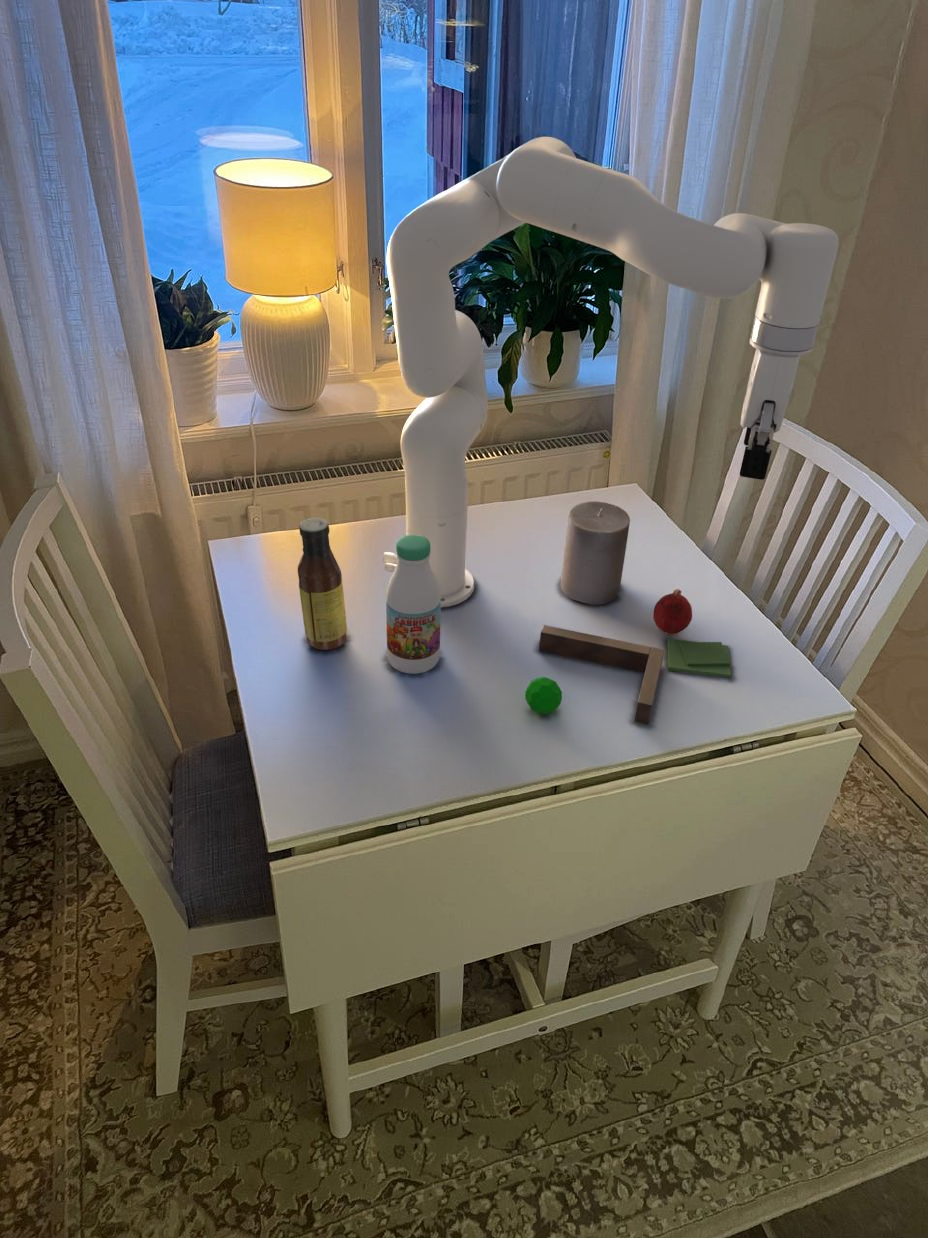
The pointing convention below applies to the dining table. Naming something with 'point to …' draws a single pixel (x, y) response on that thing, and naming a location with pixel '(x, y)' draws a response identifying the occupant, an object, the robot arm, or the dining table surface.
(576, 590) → the pillar candle
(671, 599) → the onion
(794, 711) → the dining table surface
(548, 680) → the polyhedron
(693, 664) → the green rag
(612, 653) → the corner stop
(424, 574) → the milk bottle
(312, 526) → the sauce bottle
